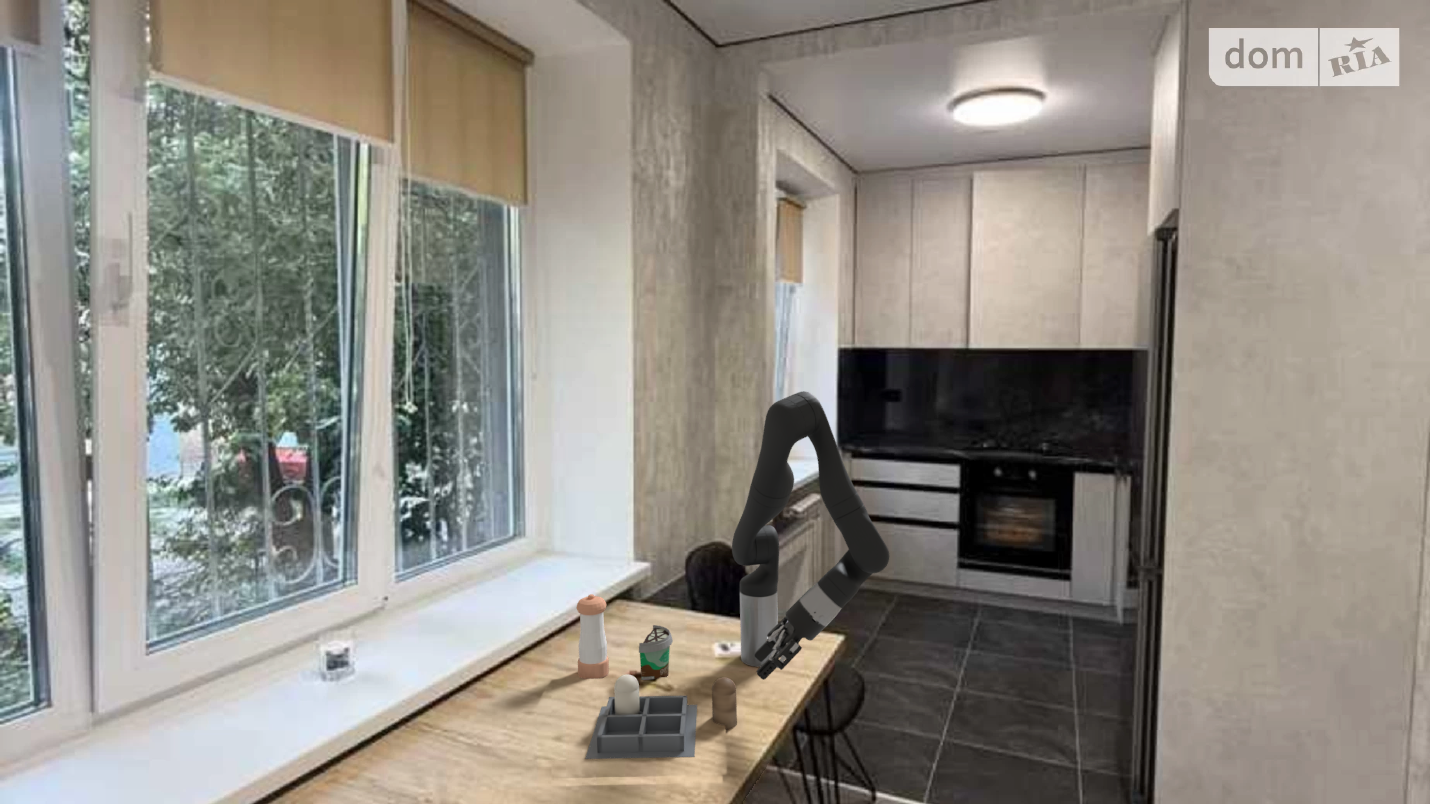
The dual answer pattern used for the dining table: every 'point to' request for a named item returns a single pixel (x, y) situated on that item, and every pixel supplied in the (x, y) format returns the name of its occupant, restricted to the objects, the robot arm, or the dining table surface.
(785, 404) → the robot arm
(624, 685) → the white dome-top cylinder
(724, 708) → the brown domed cylinder
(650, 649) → the food container
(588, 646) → the pepper shaker
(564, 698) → the dining table surface
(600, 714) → the grey compartment tray
